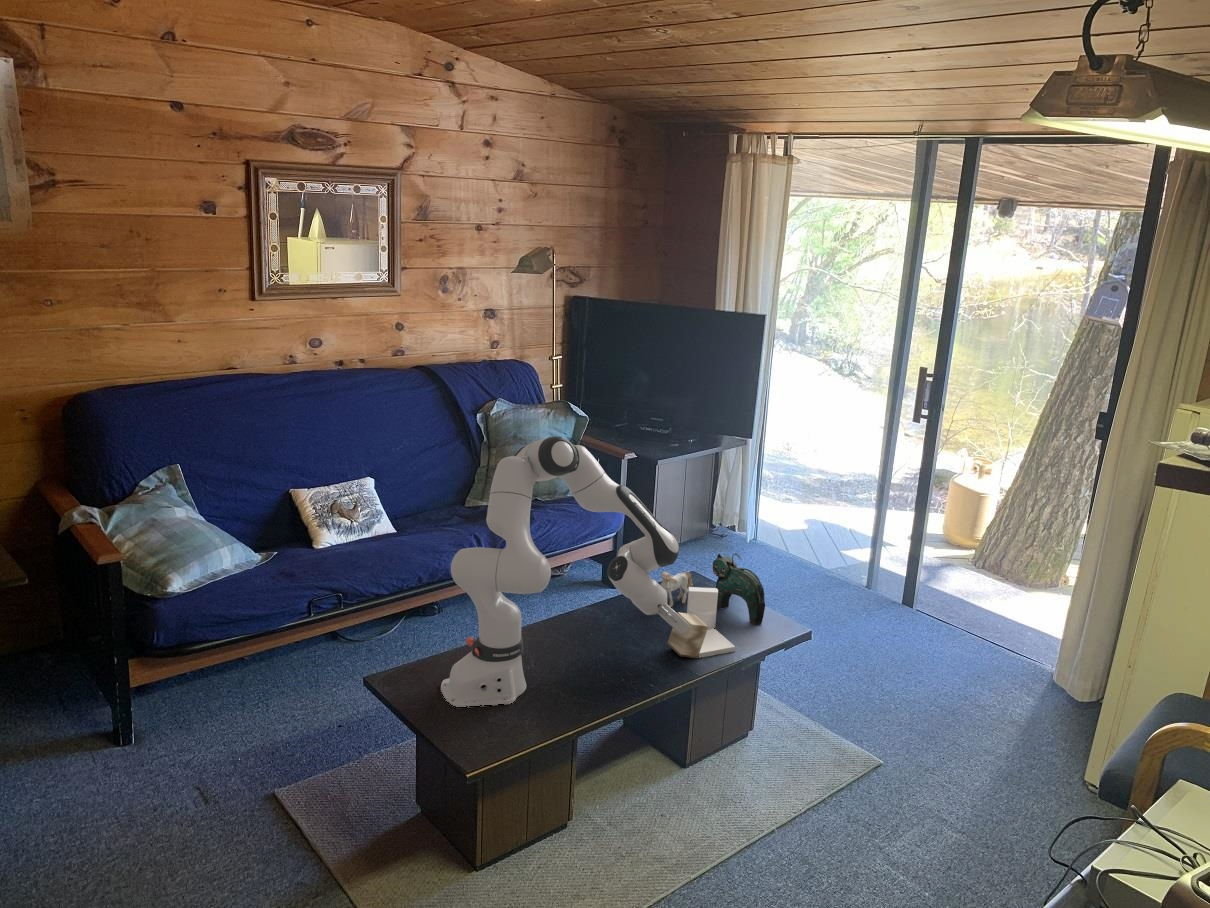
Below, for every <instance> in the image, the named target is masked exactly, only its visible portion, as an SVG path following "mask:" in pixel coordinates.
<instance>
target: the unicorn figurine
mask: <svg viewBox="0 0 1210 908" xmlns="http://www.w3.org/2000/svg"><path fill="white" fill-rule="evenodd" d="M660 576H661V578H662V581H661V582H660V586H661V587H663V588H664V589H665V590H666V592H667V595H668V599H669V604H668V605H669V606H670V607H672V606H673V607H674V601H673V595H672V592H673V591H676V590H678V589H679V595H678V596H677V597H676V599H677V598H678V599H680V598H681V597H682V598H681V604H682V603H685V604H686V601H687V600H686V599H687V595H688V590H689V587H693V586H694V584H693V580H692V579H693V578H692V574H691V572H689V571H685V572H683V573H681V572H680V573H679V572H678V573H676V574H675V575H674V576H673V575H671V573H669V572H667V571H663V572H662V573H661V574H660ZM683 590H684V592H683ZM673 607H672V608H673Z"/></svg>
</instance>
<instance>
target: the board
mask: <svg viewBox="0 0 1210 908" xmlns="http://www.w3.org/2000/svg"><path fill="white" fill-rule="evenodd" d="M732 652H734V653H735V652H736V646H735V645H734V644H733V643H732V642H731V641H729V640H728V639H727V638H726V637H725V636H724V635H723V634H721V633H720V632H719V631H718V630H717V629H716V628H715V629H710V630H707V632H706V635H705V638H704V641H703V644H702V647H701V650H700V653H699V656H698V658H699V659H701V657H702V658H706V657H713V656H716V655H717V656H718V655H722V654H728V653H732ZM698 658H697V659H698Z"/></svg>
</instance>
